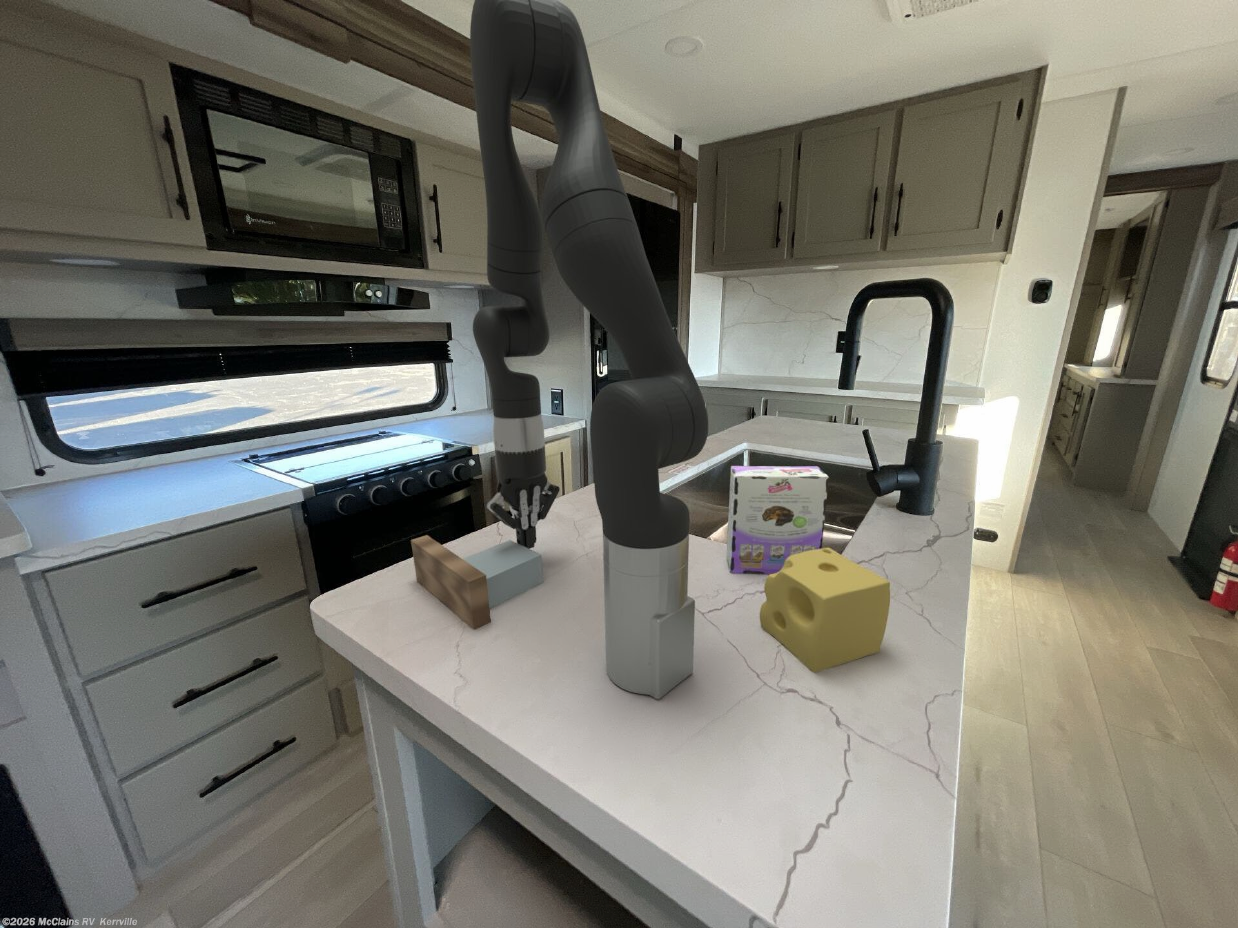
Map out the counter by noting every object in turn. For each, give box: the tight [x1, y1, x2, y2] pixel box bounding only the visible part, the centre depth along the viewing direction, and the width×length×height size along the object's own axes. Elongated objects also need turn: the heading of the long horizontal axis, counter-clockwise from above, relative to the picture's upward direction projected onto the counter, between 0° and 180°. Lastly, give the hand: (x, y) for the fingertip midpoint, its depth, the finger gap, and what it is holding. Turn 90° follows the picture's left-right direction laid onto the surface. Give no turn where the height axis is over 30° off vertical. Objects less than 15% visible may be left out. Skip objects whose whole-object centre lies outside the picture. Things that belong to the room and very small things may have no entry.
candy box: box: [726, 465, 830, 575], centre depth 78 cm, size 14×6×16 cm, turn 84°
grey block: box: [462, 539, 544, 609], centre depth 75 cm, size 8×10×5 cm
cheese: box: [759, 547, 891, 673], centre depth 61 cm, size 10×11×10 cm
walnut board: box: [410, 534, 492, 630], centre depth 71 cm, size 18×2×7 cm, turn 44°
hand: (527, 547), depth 80 cm, fingers closed
